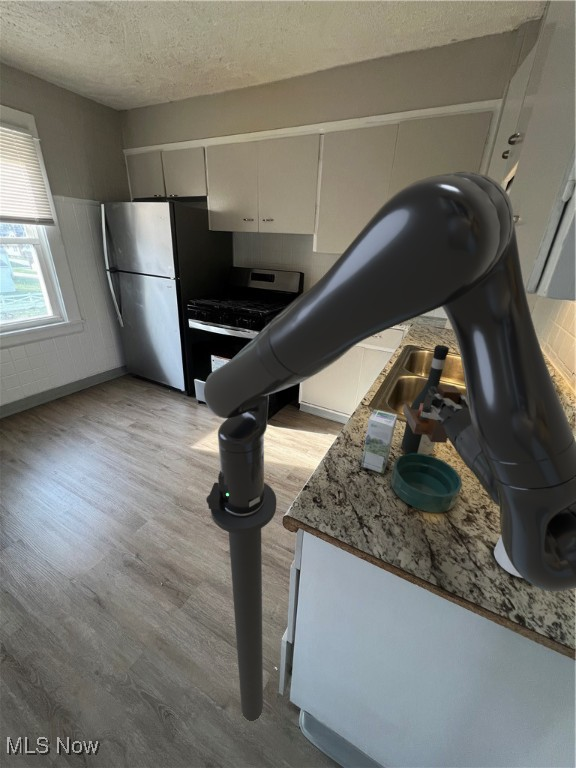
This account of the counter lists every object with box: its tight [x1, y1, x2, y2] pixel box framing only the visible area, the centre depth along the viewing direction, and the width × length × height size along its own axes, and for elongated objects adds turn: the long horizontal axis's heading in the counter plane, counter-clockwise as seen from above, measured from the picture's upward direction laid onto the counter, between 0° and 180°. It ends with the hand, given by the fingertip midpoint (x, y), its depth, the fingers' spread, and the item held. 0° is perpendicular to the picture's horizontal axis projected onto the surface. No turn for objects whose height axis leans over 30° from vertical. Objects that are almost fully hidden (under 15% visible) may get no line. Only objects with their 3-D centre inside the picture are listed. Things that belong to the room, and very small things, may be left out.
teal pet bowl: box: [390, 453, 463, 513], centre depth 72 cm, size 14×14×5 cm
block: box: [418, 403, 429, 423], centre depth 67 cm, size 3×3×3 cm
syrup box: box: [360, 409, 398, 475], centre depth 77 cm, size 6×6×14 cm
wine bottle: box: [401, 344, 450, 456], centre depth 80 cm, size 8×8×30 cm
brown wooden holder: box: [402, 384, 462, 444], centre depth 64 cm, size 12×8×11 cm
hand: (440, 391), depth 61 cm, fingers closed on brown wooden holder, 3 cm apart
